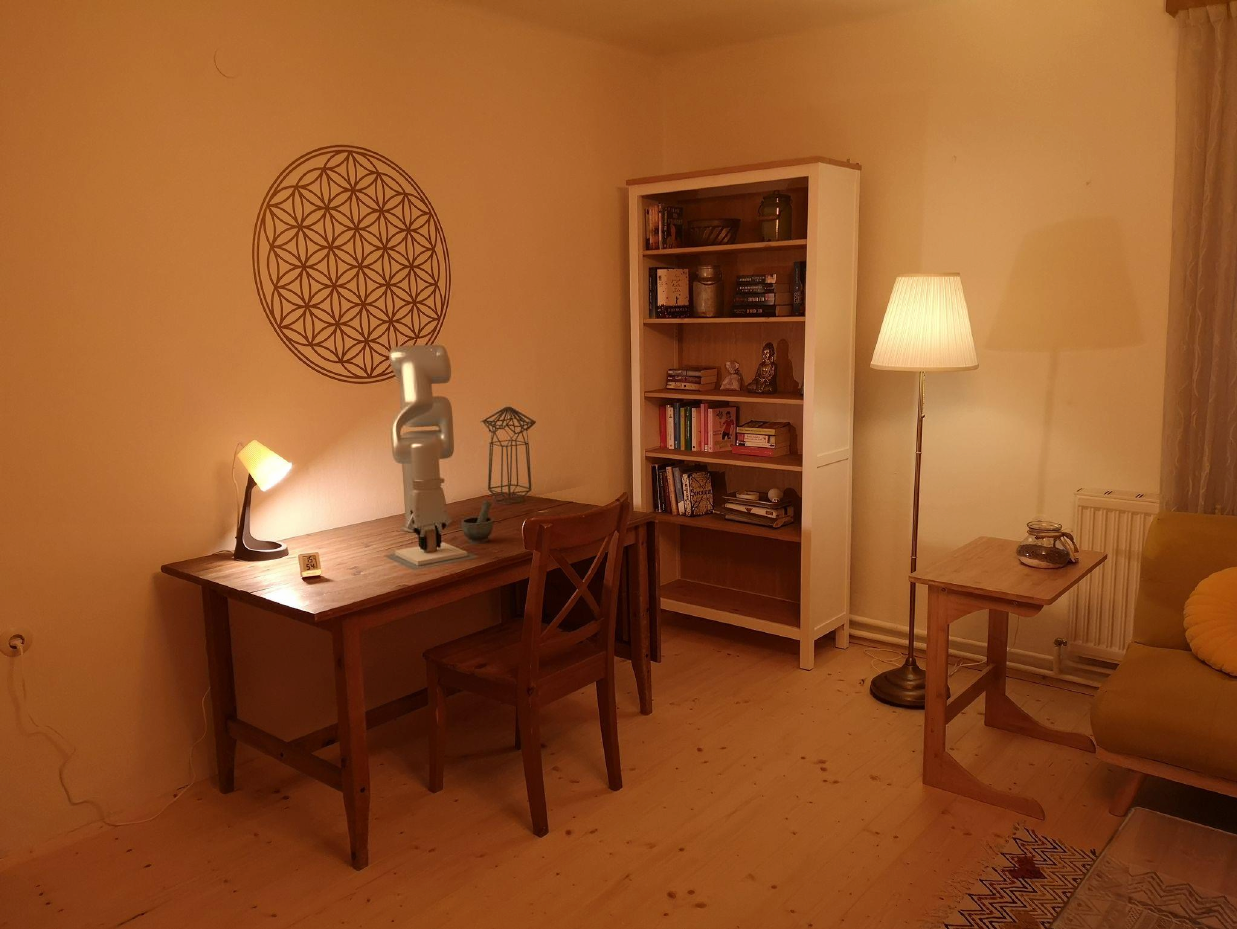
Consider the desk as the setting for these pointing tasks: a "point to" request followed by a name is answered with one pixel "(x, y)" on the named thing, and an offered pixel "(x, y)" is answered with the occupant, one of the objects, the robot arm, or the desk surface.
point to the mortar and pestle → (478, 525)
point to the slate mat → (414, 566)
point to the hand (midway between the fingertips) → (430, 547)
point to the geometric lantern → (532, 422)
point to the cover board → (430, 557)
